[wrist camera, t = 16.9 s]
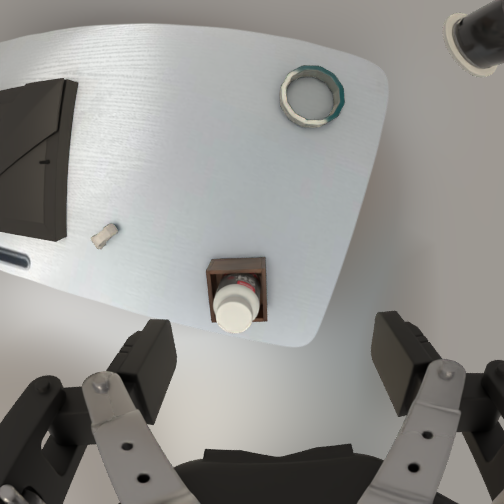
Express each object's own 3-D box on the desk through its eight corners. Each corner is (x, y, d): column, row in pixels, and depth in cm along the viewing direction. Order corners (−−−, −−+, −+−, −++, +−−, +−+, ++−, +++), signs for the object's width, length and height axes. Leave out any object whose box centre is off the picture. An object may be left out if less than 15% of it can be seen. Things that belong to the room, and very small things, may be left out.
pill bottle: (258, 263, 42) (257, 294, 33) (261, 300, 44) (261, 338, 34) (218, 266, 43) (205, 297, 33) (222, 302, 44) (212, 340, 35)
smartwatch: (116, 218, 42) (102, 225, 38) (124, 231, 42) (112, 238, 38) (99, 232, 42) (86, 240, 38) (108, 244, 43) (95, 253, 39)
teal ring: (335, 73, 35) (341, 66, 32) (339, 127, 37) (346, 125, 34) (278, 72, 35) (279, 65, 32) (281, 127, 38) (283, 125, 34)
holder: (265, 257, 42) (265, 268, 38) (267, 305, 45) (267, 321, 40) (211, 259, 43) (205, 270, 38) (216, 307, 45) (211, 322, 41)
